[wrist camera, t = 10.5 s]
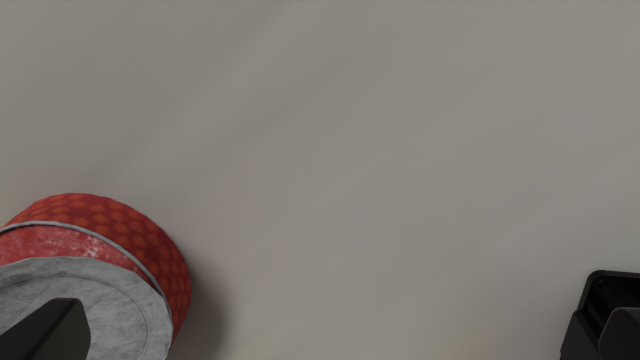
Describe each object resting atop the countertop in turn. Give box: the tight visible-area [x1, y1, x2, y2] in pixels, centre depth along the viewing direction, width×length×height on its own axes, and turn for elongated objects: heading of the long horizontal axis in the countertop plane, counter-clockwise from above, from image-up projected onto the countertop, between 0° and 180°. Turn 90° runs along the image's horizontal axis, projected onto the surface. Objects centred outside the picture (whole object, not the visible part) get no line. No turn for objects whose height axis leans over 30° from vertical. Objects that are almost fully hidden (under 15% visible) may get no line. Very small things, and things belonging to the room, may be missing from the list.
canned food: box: [0, 193, 192, 360], centre depth 23 cm, size 11×10×10 cm
